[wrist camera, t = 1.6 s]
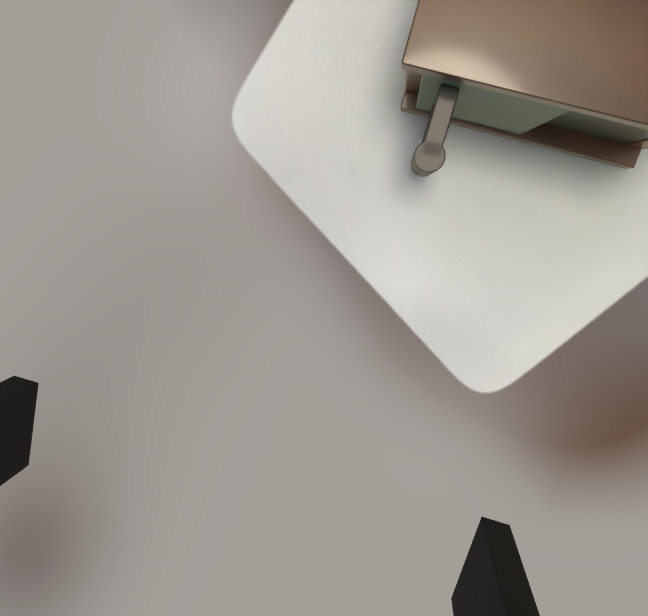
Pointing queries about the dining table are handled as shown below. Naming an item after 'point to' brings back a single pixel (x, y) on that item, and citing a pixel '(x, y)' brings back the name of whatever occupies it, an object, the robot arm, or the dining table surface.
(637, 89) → the cupboard
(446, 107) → the sliding door
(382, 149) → the dining table surface
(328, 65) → the dining table surface
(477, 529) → the robot arm
